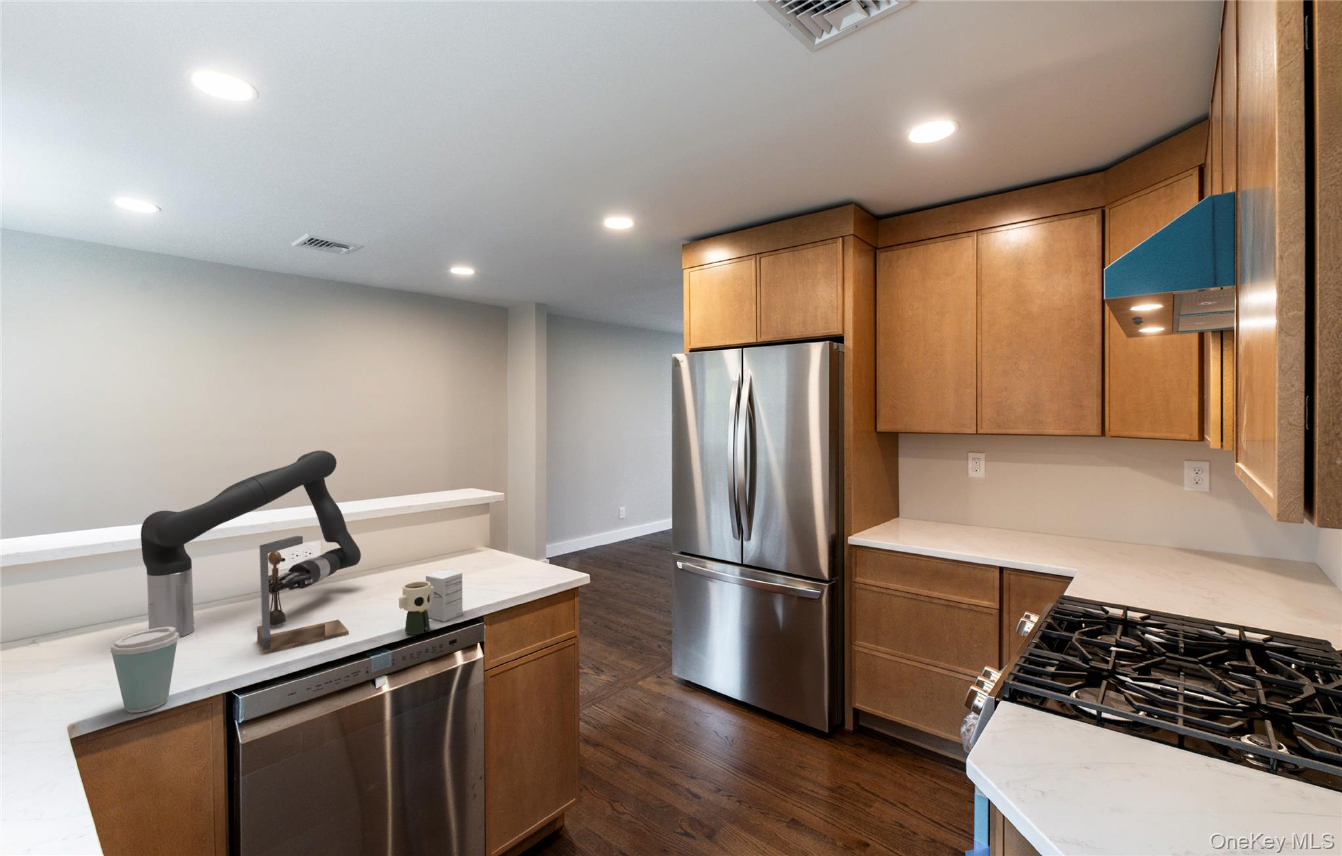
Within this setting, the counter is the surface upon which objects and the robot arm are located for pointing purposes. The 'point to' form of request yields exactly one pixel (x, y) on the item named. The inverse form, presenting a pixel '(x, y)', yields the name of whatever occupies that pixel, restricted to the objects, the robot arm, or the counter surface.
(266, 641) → the stand
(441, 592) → the supplement box
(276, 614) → the wooden tabletop sculpture
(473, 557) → the counter surface
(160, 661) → the disposable coffee cup
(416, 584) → the character mug
